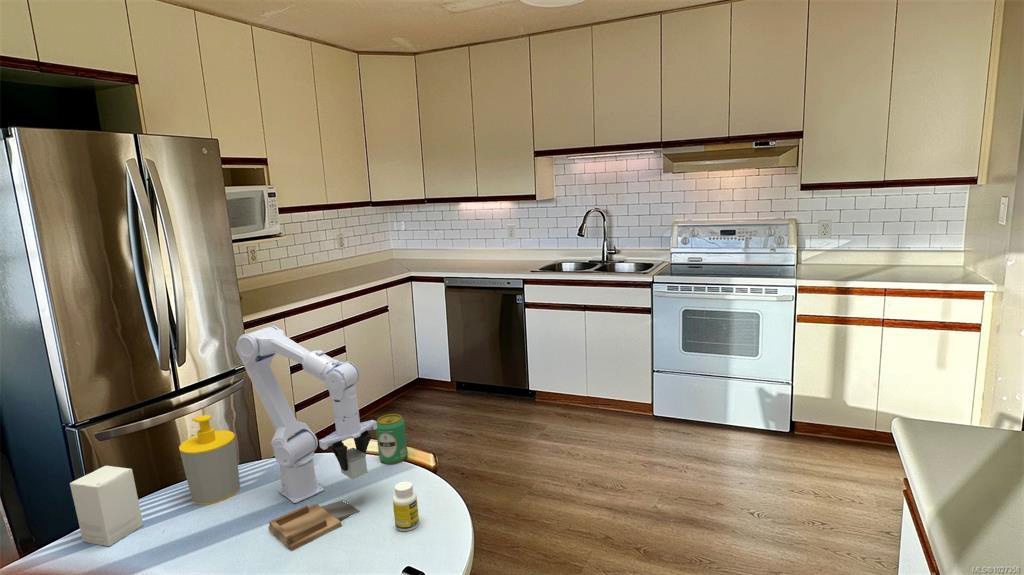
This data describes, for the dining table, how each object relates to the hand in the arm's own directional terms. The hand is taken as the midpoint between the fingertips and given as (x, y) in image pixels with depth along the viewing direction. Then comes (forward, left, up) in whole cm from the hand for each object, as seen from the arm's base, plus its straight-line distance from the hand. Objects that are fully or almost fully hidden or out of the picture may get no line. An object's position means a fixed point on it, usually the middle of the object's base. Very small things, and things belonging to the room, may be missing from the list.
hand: (352, 465), depth 142 cm
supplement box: (-35, -45, -10) cm, 58 cm away
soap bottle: (-35, -22, -10) cm, 42 cm away
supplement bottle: (+18, +2, -10) cm, 21 cm away
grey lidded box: (0, 0, -2) cm, 2 cm away
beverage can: (-13, +19, -10) cm, 25 cm away
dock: (0, -11, -10) cm, 15 cm away
